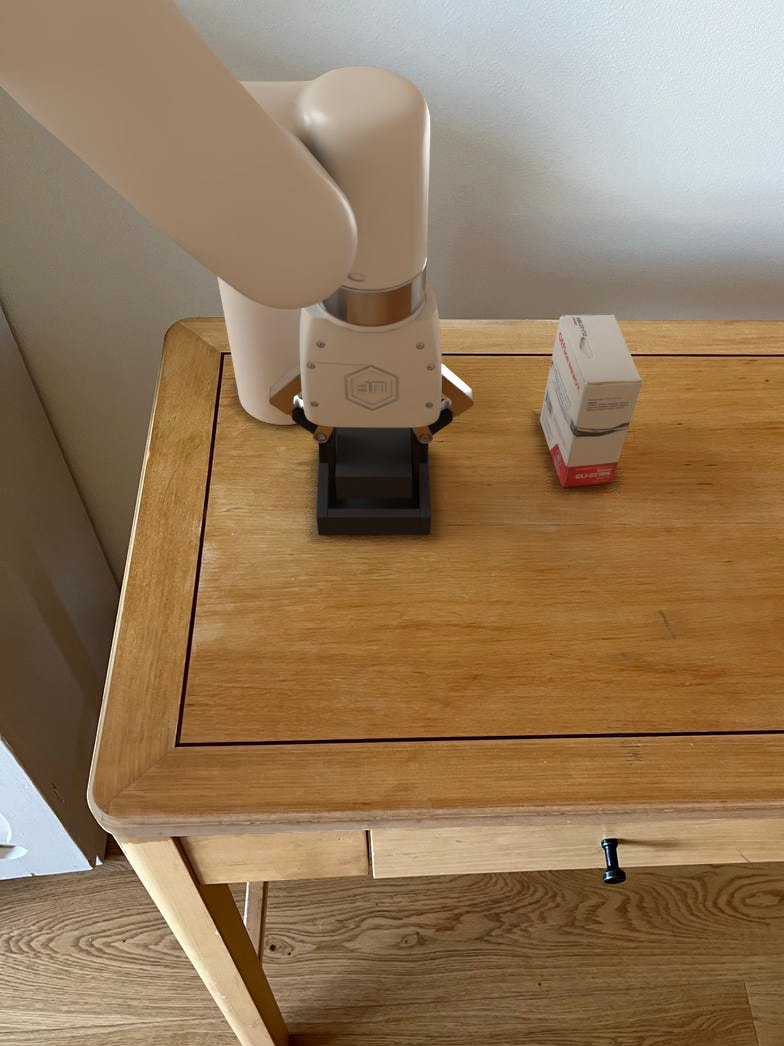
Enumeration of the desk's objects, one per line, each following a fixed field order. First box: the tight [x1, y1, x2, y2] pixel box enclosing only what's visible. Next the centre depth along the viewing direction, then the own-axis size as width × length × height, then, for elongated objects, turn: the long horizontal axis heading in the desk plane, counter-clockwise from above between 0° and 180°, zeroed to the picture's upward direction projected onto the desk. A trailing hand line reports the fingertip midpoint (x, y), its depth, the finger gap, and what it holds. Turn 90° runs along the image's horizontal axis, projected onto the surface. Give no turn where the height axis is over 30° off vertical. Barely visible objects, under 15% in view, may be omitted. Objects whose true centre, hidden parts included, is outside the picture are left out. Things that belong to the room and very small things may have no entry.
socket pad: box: [315, 456, 432, 536], centre depth 81 cm, size 9×9×2 cm
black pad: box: [336, 427, 412, 498], centre depth 78 cm, size 6×6×3 cm
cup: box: [216, 275, 302, 426], centre depth 81 cm, size 8×8×16 cm
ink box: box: [539, 313, 643, 488], centre depth 81 cm, size 8×5×12 cm, turn 11°
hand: (374, 464), depth 79 cm, fingers closed on black pad, 5 cm apart
